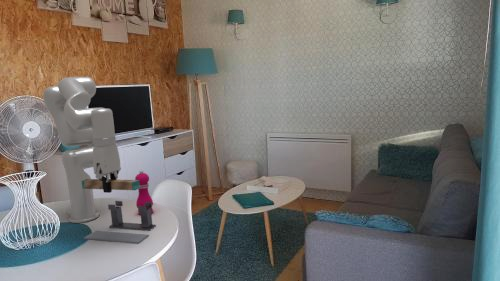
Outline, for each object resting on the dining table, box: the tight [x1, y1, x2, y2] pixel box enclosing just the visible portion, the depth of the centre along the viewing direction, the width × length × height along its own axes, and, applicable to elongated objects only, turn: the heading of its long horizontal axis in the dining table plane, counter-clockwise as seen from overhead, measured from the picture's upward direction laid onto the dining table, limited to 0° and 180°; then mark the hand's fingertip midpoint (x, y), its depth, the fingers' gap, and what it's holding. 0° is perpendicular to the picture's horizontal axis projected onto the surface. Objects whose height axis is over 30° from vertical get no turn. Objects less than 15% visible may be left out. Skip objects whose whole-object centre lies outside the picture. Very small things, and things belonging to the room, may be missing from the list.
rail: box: [82, 178, 140, 191], centre depth 143 cm, size 23×3×3 cm, turn 73°
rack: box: [107, 200, 157, 232], centre depth 155 cm, size 19×5×10 cm, turn 73°
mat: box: [83, 230, 150, 245], centre depth 146 cm, size 24×7×1 cm, turn 73°
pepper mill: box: [134, 169, 154, 216], centre depth 171 cm, size 7×7×20 cm
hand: (110, 190), depth 143 cm, fingers closed on rail, 3 cm apart
